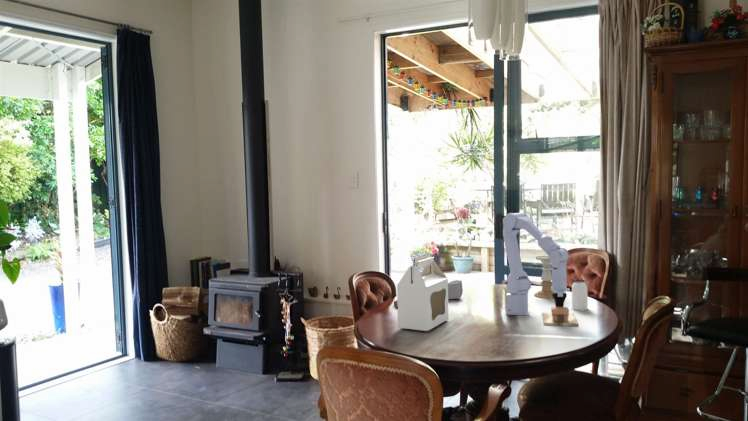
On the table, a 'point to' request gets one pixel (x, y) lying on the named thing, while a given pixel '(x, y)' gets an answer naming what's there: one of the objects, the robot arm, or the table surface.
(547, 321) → the rail board
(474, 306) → the table surface
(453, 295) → the decorative stone
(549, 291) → the candle holder
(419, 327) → the gable box
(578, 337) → the table surface
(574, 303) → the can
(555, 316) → the block
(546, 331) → the table surface
